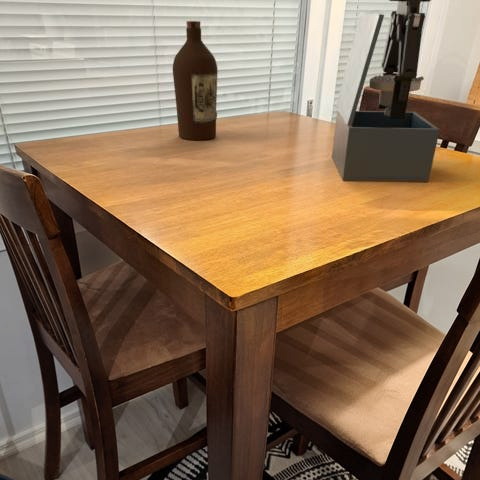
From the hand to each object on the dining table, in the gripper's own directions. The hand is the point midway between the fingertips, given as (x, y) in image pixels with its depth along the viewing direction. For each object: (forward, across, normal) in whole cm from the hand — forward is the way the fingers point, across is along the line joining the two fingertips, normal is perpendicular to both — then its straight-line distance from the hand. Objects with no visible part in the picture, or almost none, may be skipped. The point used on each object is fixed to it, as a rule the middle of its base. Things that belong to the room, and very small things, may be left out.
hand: (390, 113), depth 97 cm
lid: (-8, 0, -7) cm, 11 cm away
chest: (+11, 0, -1) cm, 11 cm away
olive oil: (+11, -26, -41) cm, 50 cm away
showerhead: (0, 0, 0) cm, 1 cm away
